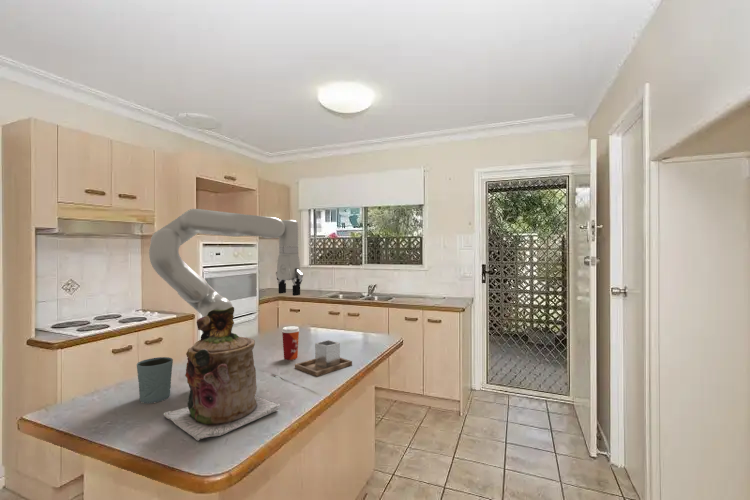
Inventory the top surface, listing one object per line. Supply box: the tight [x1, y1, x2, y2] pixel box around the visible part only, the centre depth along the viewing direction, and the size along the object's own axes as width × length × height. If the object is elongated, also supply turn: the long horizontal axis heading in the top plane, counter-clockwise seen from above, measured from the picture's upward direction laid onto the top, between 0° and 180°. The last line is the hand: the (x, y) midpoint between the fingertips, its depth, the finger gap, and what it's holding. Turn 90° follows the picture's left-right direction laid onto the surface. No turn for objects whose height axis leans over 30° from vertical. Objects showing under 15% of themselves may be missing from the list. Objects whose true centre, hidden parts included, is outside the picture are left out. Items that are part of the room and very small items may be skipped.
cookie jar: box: [163, 306, 281, 441], centre depth 108 cm, size 25×25×32 cm
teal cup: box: [136, 356, 174, 404], centre depth 121 cm, size 10×10×12 cm
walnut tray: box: [294, 357, 353, 377], centre depth 148 cm, size 18×14×2 cm
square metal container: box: [314, 339, 341, 369], centre depth 150 cm, size 7×7×9 cm
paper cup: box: [281, 325, 300, 361], centre depth 160 cm, size 8×8×14 cm
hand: (289, 294), depth 147 cm, fingers open, 9 cm apart
